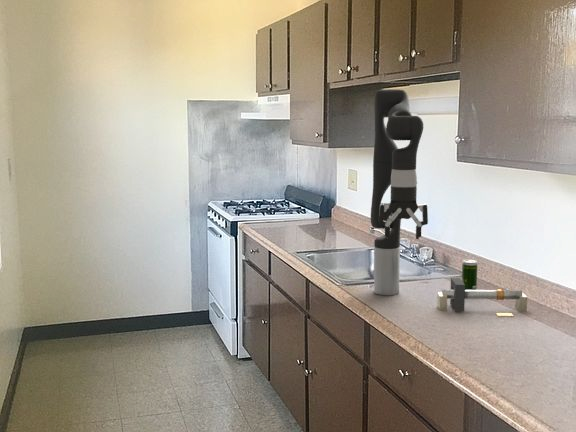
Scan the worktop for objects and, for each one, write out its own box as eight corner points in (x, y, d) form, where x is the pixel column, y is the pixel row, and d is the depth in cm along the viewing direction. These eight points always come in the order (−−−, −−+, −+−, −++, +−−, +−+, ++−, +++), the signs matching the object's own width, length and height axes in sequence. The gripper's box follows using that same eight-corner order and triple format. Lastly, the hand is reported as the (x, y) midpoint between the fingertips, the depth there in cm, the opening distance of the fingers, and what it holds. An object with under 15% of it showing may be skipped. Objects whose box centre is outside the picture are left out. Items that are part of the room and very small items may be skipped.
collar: (455, 311, 214) (455, 284, 212) (450, 303, 223) (450, 278, 221) (464, 311, 213) (465, 284, 212) (459, 303, 222) (459, 278, 221)
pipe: (442, 316, 210) (443, 295, 209) (437, 306, 221) (437, 287, 220) (532, 317, 208) (532, 296, 207) (522, 307, 219) (523, 287, 218)
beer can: (479, 293, 237) (480, 261, 236) (472, 296, 234) (473, 263, 232) (465, 290, 241) (466, 258, 239) (458, 293, 237) (459, 261, 235)
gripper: (426, 183, 193) (425, 236, 196) (378, 183, 194) (377, 236, 197) (430, 186, 186) (428, 241, 188) (380, 186, 187) (379, 241, 190)
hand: (402, 238), depth 193 cm, fingers open, 8 cm apart
